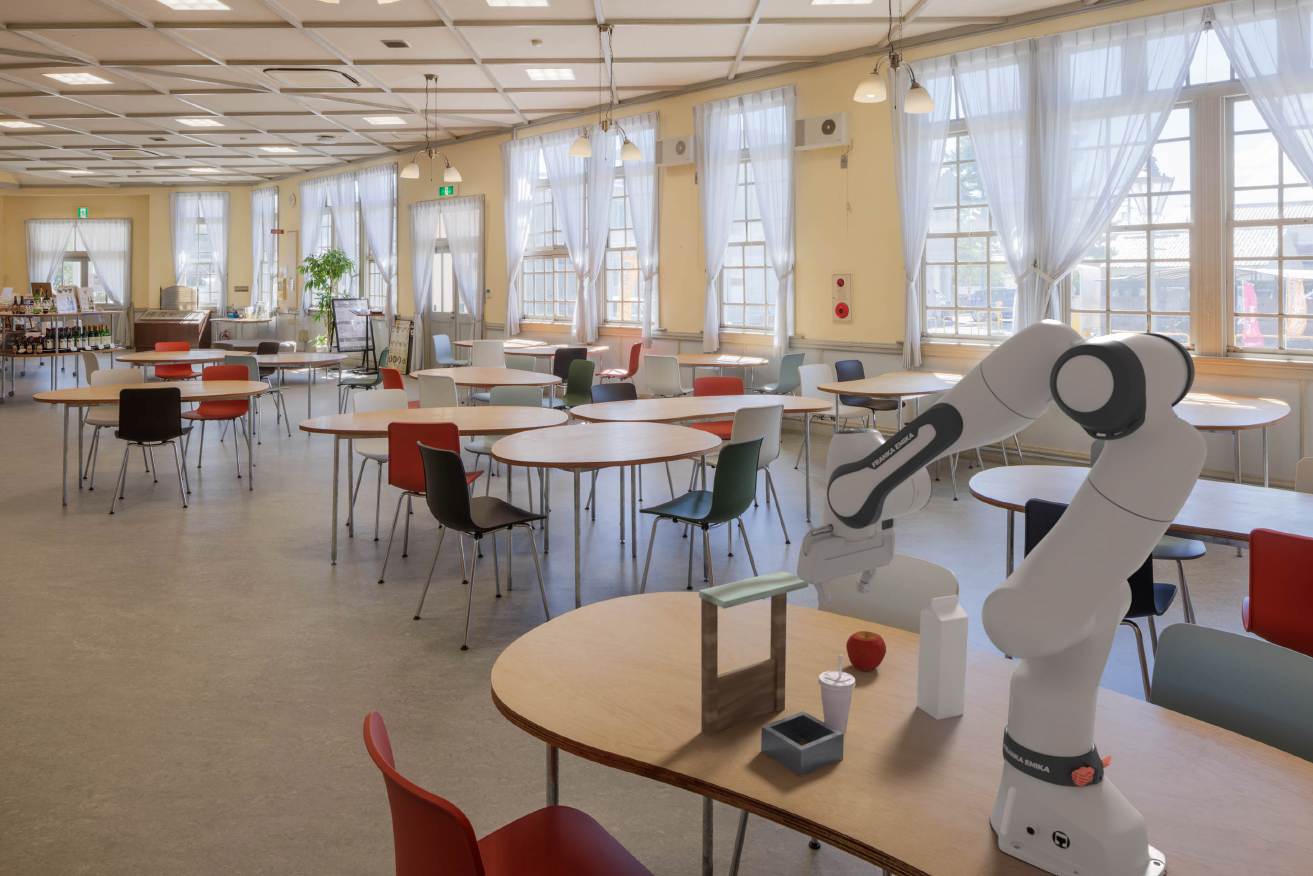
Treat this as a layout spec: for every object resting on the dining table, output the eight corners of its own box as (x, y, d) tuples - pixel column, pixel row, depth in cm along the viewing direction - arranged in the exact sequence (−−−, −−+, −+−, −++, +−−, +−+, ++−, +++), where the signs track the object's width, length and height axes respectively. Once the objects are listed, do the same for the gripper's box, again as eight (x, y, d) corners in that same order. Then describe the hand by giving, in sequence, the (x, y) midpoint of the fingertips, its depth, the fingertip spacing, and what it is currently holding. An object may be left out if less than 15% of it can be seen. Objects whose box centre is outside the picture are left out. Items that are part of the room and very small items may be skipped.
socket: (843, 758, 144) (843, 733, 144) (800, 776, 139) (801, 750, 138) (802, 735, 152) (803, 711, 152) (761, 751, 147) (761, 726, 146)
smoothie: (854, 739, 150) (856, 663, 148) (816, 736, 152) (818, 660, 150) (853, 722, 157) (855, 648, 154) (817, 719, 158) (819, 646, 156)
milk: (916, 706, 163) (920, 593, 159) (943, 701, 165) (947, 589, 161) (937, 720, 157) (941, 604, 154) (964, 715, 159) (969, 599, 156)
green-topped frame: (805, 718, 158) (808, 580, 154) (723, 749, 148) (724, 601, 144) (779, 704, 164) (781, 570, 160) (699, 732, 154) (699, 590, 149)
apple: (843, 660, 184) (843, 625, 183) (880, 660, 183) (881, 625, 182) (849, 675, 176) (850, 639, 175) (888, 676, 176) (890, 639, 175)
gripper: (818, 535, 139) (812, 616, 142) (903, 516, 150) (897, 591, 153) (791, 525, 144) (786, 603, 147) (875, 507, 155) (870, 580, 158)
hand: (843, 597), depth 150 cm, fingers open, 8 cm apart
